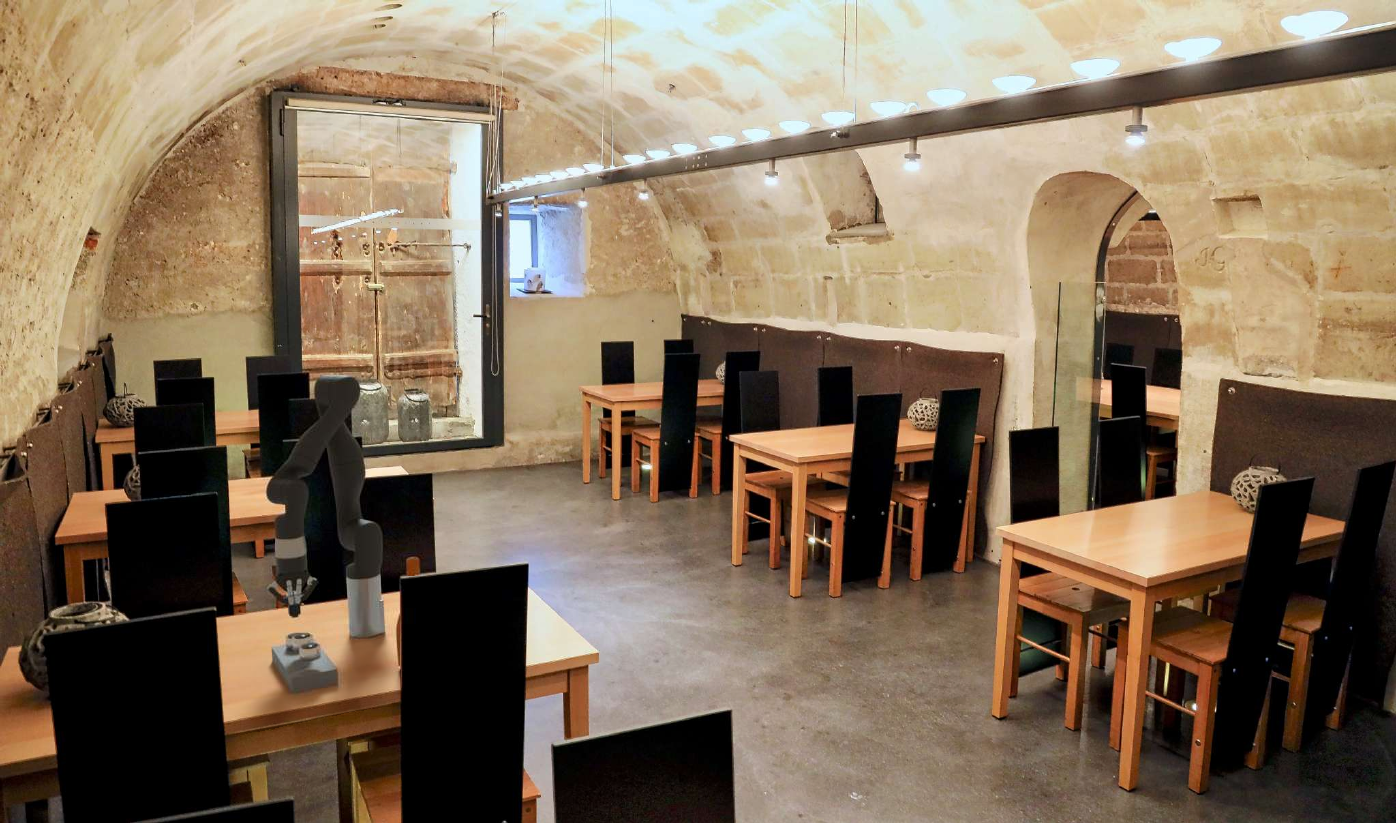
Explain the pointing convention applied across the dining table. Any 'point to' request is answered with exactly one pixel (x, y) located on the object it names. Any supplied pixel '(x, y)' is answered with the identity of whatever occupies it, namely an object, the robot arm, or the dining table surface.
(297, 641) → the knob
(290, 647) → the knob
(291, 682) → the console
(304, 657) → the knob
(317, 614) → the dining table surface
